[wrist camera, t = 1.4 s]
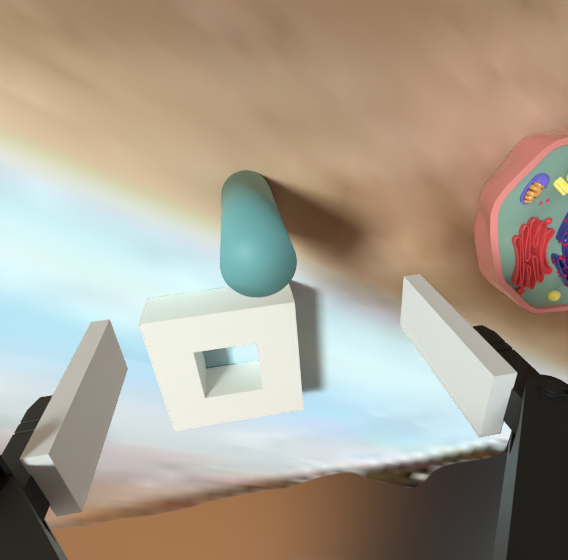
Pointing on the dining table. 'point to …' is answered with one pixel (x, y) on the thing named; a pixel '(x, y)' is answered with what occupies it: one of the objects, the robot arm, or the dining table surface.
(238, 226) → the peg
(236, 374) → the socket block
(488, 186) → the cell model
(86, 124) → the dining table surface
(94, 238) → the dining table surface
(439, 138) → the dining table surface
